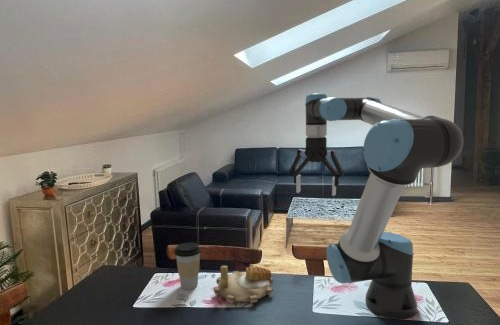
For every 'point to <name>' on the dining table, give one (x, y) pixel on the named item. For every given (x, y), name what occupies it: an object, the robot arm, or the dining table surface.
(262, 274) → the pastry
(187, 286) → the coffee cup
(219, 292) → the turntable
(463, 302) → the dining table surface
